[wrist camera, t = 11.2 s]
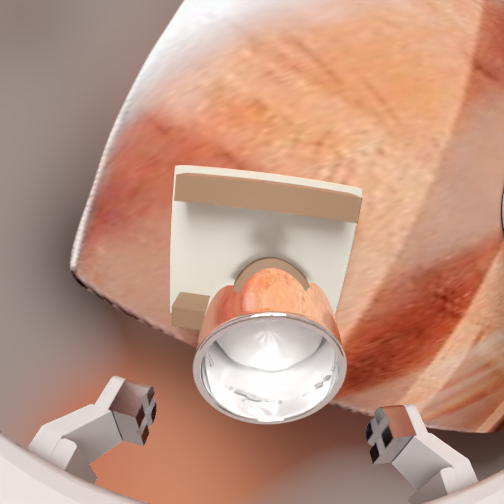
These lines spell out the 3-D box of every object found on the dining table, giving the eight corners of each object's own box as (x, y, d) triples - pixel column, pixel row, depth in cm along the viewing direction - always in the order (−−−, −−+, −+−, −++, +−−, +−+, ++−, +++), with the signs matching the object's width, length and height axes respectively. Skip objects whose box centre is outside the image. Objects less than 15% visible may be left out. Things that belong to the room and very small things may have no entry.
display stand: (353, 186, 26) (375, 193, 20) (325, 317, 30) (336, 348, 25) (182, 165, 26) (163, 167, 20) (176, 300, 30) (161, 328, 25)
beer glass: (247, 305, 27) (234, 438, 13) (212, 240, 25) (155, 343, 11) (316, 276, 26) (366, 398, 12) (286, 206, 24) (322, 278, 10)
